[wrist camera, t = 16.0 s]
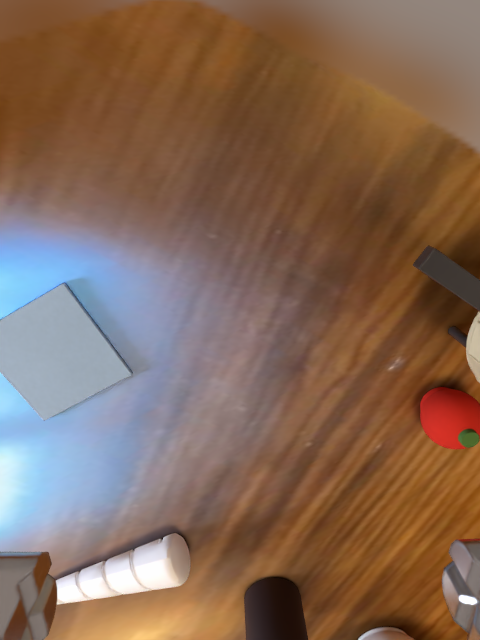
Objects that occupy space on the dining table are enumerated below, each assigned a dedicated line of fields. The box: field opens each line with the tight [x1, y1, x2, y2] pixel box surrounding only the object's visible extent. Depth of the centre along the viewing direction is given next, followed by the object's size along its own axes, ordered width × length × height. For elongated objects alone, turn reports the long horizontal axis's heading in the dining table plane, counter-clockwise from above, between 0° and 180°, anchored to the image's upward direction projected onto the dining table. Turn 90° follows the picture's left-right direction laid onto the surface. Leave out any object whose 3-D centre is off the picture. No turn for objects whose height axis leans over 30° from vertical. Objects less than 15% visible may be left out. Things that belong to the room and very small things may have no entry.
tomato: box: [420, 387, 480, 449], centre depth 38 cm, size 5×5×6 cm
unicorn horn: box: [56, 533, 191, 605], centre depth 45 cm, size 5×24×5 cm, turn 110°
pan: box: [413, 245, 480, 383], centre depth 30 cm, size 16×9×12 cm, turn 57°
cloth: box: [0, 283, 132, 421], centre depth 37 cm, size 10×10×1 cm
